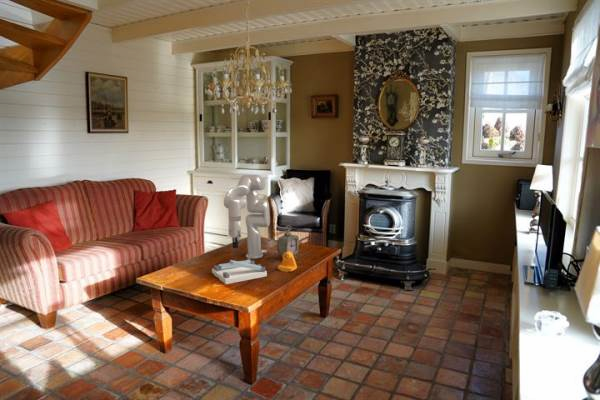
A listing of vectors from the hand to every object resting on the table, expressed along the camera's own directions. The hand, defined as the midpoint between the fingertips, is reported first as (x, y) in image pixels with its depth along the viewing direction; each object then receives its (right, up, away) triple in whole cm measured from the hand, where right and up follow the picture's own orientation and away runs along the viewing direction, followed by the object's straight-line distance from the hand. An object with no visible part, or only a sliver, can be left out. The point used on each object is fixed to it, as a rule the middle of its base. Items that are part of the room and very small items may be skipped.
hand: (235, 247), depth 281 cm
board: (0, -19, +13) cm, 23 cm away
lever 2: (+6, -13, +6) cm, 15 cm away
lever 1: (-3, -14, +20) cm, 25 cm away
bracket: (+31, -17, +22) cm, 42 cm away
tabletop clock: (+31, -13, +45) cm, 56 cm away
